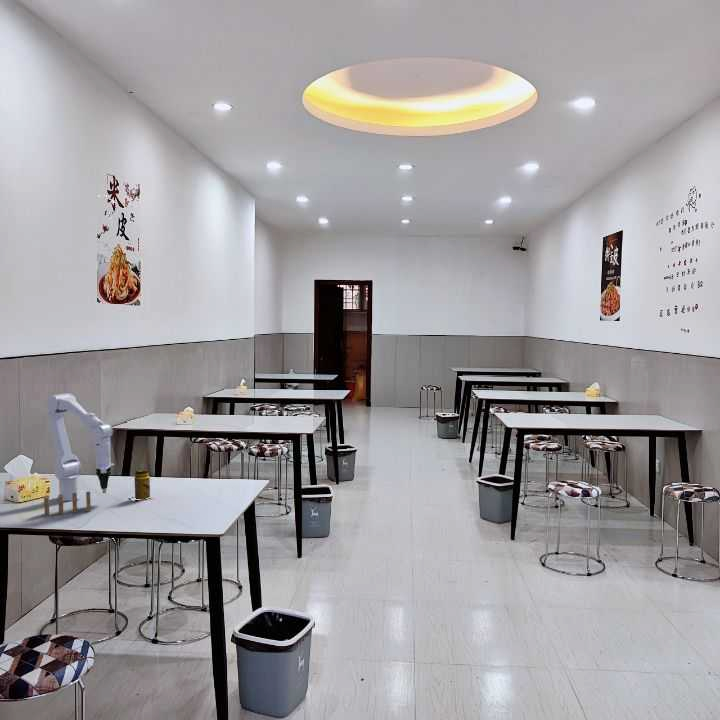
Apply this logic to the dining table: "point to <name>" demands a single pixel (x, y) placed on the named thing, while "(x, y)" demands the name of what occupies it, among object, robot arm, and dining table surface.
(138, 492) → the condiment
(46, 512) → the domino
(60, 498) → the domino
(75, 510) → the domino
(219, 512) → the dining table surface
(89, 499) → the domino
